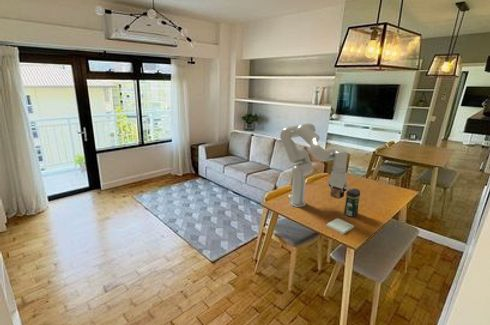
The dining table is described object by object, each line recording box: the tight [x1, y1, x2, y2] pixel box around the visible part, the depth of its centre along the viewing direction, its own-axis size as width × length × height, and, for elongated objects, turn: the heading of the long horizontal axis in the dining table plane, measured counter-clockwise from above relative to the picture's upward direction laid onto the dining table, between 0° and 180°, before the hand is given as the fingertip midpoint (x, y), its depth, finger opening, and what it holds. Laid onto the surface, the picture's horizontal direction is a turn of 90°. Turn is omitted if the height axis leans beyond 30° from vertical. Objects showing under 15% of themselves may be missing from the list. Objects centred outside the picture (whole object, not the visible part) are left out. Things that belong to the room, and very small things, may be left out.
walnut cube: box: [330, 187, 345, 200], centre depth 167 cm, size 6×6×6 cm
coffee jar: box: [343, 187, 361, 217], centre depth 178 cm, size 10×8×19 cm
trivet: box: [326, 217, 355, 235], centre depth 165 cm, size 12×12×2 cm
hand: (337, 195), depth 168 cm, fingers closed on walnut cube, 6 cm apart
